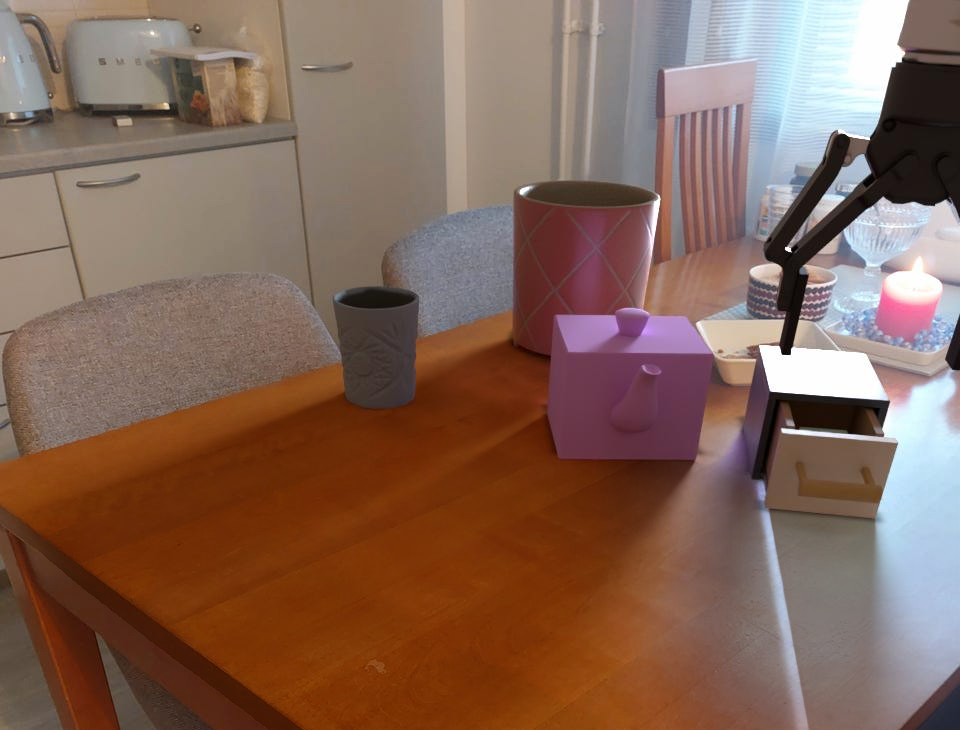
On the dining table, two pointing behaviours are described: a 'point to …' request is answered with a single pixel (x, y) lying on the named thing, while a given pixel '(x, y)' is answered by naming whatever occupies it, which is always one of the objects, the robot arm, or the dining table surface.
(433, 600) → the dining table surface
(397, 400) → the gray embossed cup
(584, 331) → the teapot
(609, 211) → the planter
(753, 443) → the cabinet
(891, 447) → the drawer
